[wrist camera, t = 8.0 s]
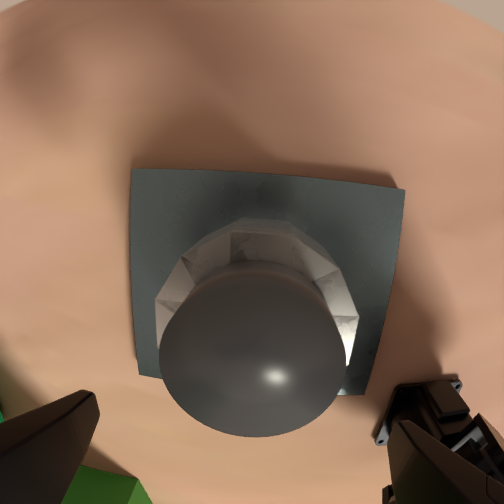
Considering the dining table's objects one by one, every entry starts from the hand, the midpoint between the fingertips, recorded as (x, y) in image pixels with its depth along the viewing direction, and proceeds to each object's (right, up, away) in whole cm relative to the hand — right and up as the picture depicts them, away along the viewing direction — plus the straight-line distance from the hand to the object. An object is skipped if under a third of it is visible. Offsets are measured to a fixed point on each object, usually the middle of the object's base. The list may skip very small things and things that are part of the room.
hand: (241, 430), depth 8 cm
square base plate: (+1, +3, +12) cm, 12 cm away
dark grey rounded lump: (+1, +2, +8) cm, 9 cm away
